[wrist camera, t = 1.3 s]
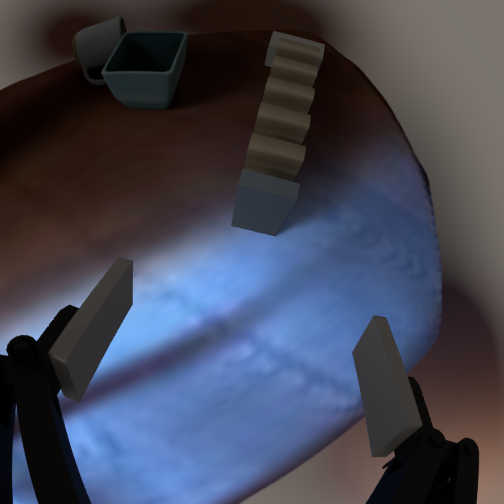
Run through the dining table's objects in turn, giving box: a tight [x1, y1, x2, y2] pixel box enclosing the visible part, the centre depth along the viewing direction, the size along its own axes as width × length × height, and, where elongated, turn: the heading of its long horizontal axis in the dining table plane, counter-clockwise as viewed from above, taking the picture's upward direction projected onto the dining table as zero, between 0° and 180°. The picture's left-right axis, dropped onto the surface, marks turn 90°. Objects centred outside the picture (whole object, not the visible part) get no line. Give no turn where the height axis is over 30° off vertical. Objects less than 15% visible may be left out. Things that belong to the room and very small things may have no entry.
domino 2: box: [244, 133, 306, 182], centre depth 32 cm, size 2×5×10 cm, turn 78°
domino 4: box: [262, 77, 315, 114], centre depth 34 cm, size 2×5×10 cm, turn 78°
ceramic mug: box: [73, 17, 127, 85], centre depth 36 cm, size 11×8×8 cm
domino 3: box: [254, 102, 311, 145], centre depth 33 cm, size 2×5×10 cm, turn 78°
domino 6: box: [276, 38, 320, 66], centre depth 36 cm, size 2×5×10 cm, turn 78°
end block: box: [265, 31, 324, 72], centre depth 41 cm, size 4×8×4 cm, turn 78°
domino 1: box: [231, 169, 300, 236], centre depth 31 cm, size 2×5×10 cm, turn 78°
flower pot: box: [101, 31, 188, 109], centre depth 34 cm, size 9×9×9 cm
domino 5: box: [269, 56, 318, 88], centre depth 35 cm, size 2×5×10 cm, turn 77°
